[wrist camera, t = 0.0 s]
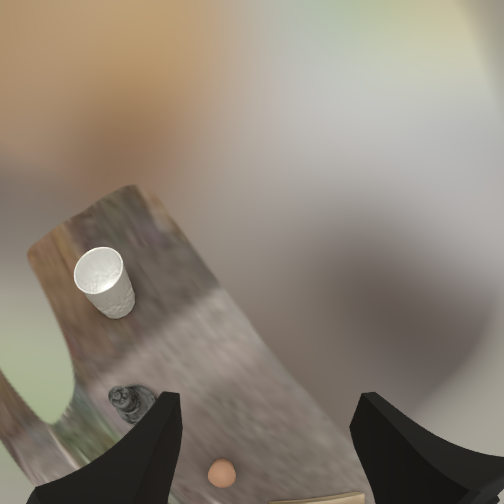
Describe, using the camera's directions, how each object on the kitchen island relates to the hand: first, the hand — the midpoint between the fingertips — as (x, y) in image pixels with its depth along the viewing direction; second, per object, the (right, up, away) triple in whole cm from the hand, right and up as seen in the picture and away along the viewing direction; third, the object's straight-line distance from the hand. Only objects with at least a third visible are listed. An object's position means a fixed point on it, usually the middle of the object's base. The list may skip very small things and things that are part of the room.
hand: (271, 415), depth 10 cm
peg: (-5, -23, +23) cm, 33 cm away
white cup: (-23, -2, +36) cm, 43 cm away
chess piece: (-17, -16, +27) cm, 35 cm away
